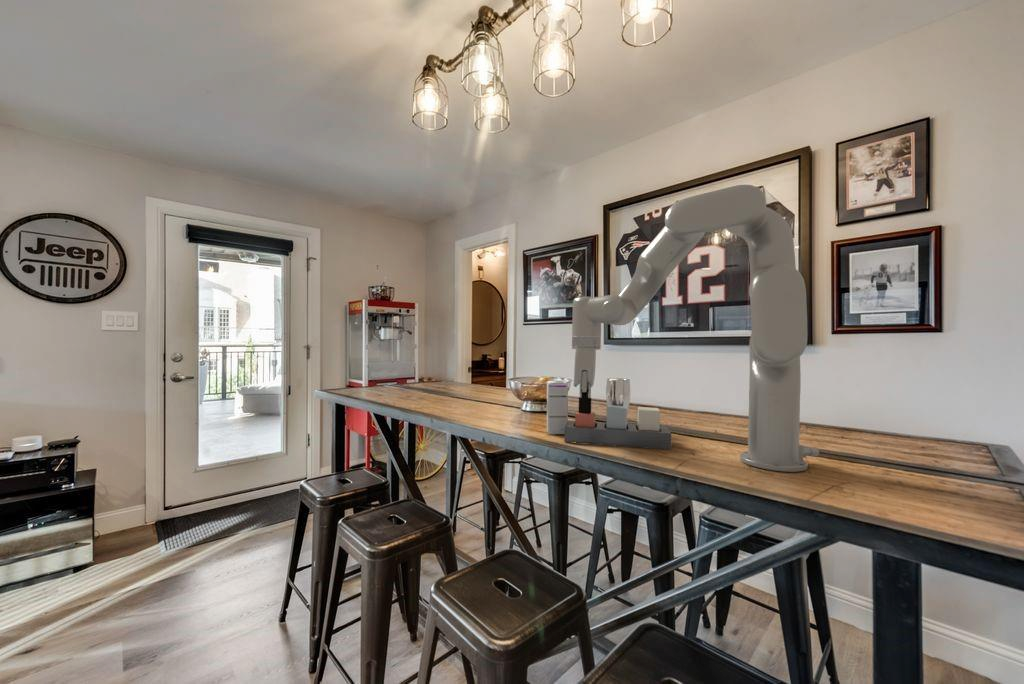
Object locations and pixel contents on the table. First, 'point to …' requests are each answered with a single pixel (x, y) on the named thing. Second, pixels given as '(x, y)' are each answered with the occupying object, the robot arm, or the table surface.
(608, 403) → the beer glass
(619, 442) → the grey slotted holder
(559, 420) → the syrup box
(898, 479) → the table surface
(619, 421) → the grey cube
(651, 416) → the key ivory
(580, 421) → the key red
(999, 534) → the table surface
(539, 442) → the table surface
